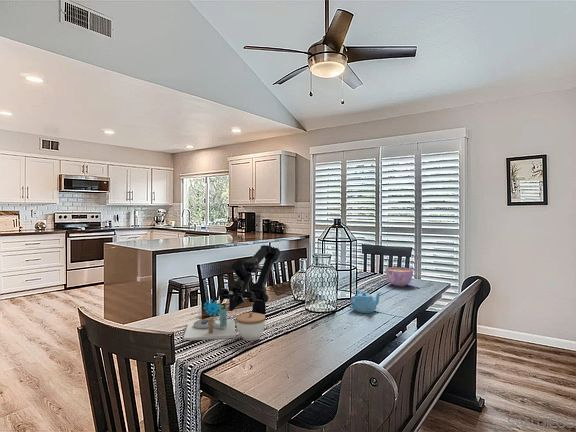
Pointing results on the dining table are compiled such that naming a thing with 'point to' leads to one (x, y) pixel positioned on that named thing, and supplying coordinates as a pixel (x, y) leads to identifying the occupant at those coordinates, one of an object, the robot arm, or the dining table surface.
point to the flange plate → (223, 321)
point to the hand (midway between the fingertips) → (230, 310)
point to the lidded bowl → (250, 325)
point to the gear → (212, 307)
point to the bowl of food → (399, 275)
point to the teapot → (364, 302)
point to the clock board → (206, 335)
